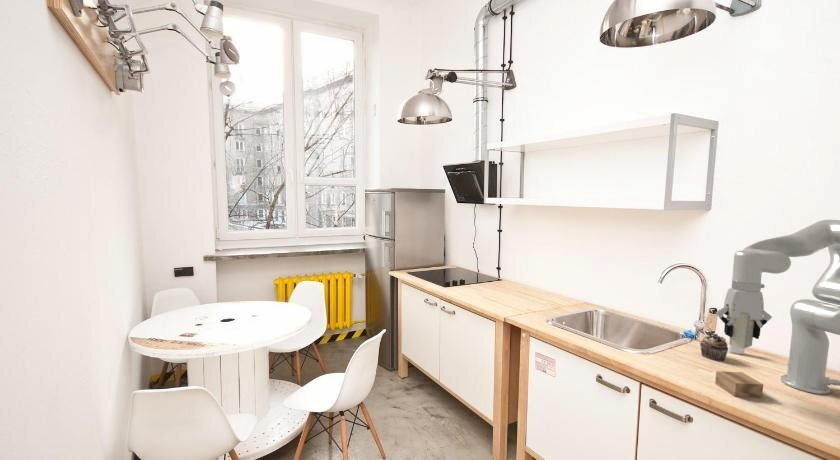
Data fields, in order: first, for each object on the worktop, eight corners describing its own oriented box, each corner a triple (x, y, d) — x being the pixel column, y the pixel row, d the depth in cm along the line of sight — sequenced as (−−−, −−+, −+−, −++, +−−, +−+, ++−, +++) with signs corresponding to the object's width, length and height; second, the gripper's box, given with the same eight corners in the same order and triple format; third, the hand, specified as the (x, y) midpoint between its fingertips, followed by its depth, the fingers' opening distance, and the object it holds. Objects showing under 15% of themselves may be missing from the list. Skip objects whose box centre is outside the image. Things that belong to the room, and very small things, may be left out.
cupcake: (733, 361, 158) (735, 338, 157) (714, 362, 156) (716, 339, 155) (711, 352, 167) (713, 330, 167) (693, 353, 166) (695, 330, 165)
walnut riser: (740, 385, 137) (741, 372, 137) (761, 398, 128) (763, 384, 128) (715, 384, 138) (716, 371, 137) (734, 397, 129) (735, 383, 128)
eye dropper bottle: (742, 356, 164) (745, 329, 163) (726, 351, 168) (729, 325, 167) (744, 353, 167) (747, 327, 166) (728, 349, 171) (731, 323, 170)
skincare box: (737, 341, 136) (740, 308, 135) (753, 346, 132) (756, 312, 131) (728, 344, 133) (731, 311, 132) (743, 349, 129) (746, 314, 128)
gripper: (767, 285, 132) (763, 334, 134) (711, 282, 136) (707, 330, 137) (783, 290, 125) (778, 342, 127) (723, 287, 129) (719, 338, 130)
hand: (741, 336), depth 132 cm, fingers closed on skincare box, 7 cm apart
